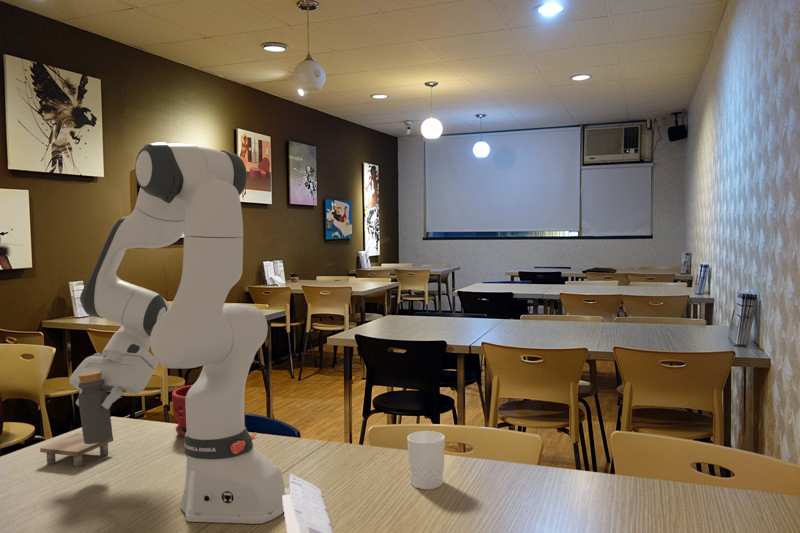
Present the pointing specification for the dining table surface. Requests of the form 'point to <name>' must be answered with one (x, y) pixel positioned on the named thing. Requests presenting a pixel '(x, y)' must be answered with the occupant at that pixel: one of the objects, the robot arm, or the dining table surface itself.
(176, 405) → the plant pot
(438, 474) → the white cup
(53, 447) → the small wooden stand
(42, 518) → the dining table surface
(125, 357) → the robot arm
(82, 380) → the bottle
